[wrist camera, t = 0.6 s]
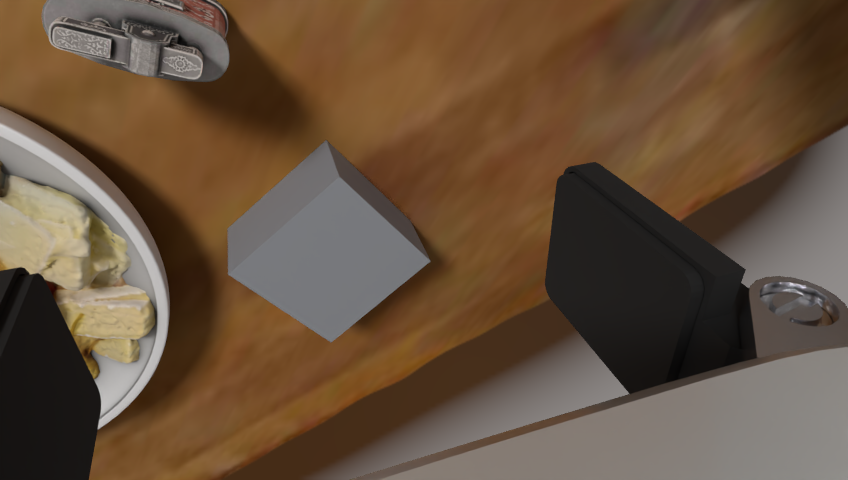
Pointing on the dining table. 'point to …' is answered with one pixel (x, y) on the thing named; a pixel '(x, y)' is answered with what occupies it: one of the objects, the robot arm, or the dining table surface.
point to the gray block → (324, 245)
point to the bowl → (84, 257)
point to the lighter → (144, 35)
